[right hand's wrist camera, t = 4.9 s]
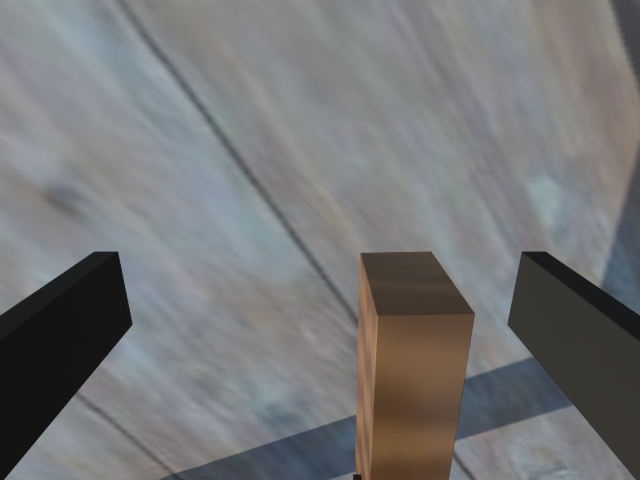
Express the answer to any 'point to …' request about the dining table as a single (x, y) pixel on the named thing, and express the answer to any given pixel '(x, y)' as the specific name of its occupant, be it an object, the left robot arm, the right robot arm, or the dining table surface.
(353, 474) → the left robot arm
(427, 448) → the bar
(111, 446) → the dining table surface
